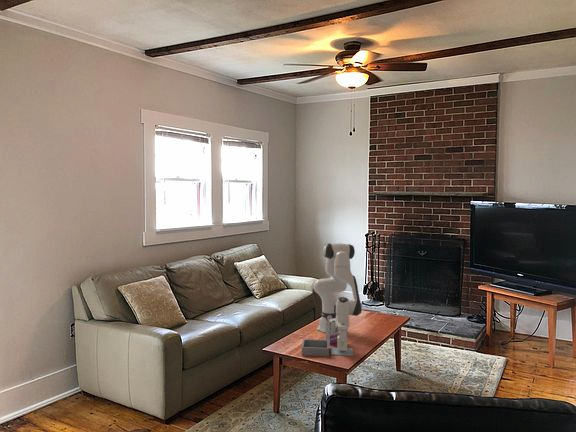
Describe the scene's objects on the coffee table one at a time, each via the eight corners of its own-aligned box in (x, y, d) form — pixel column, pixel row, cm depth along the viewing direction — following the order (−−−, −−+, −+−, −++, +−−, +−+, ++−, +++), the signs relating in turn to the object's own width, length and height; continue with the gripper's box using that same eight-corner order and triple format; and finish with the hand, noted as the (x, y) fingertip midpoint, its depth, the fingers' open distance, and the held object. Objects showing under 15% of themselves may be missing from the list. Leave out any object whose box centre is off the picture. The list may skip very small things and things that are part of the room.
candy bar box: (337, 340, 313) (337, 317, 312) (342, 342, 309) (342, 318, 308) (325, 343, 307) (325, 319, 306) (330, 345, 303) (330, 321, 302)
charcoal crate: (303, 346, 300) (303, 339, 300) (328, 347, 299) (328, 340, 299) (301, 355, 285) (301, 347, 284) (328, 356, 283) (328, 348, 283)
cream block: (337, 347, 293) (337, 335, 293) (346, 348, 293) (346, 335, 292) (337, 350, 289) (337, 337, 288) (346, 350, 288) (347, 338, 288)
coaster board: (331, 348, 297) (331, 347, 297) (352, 349, 296) (352, 348, 296) (331, 355, 285) (331, 354, 285) (353, 356, 284) (353, 355, 284)
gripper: (337, 318, 300) (336, 338, 301) (337, 327, 280) (337, 349, 281) (346, 318, 300) (346, 339, 300) (348, 328, 279) (347, 350, 280)
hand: (342, 344), depth 290 cm, fingers closed on cream block, 4 cm apart
